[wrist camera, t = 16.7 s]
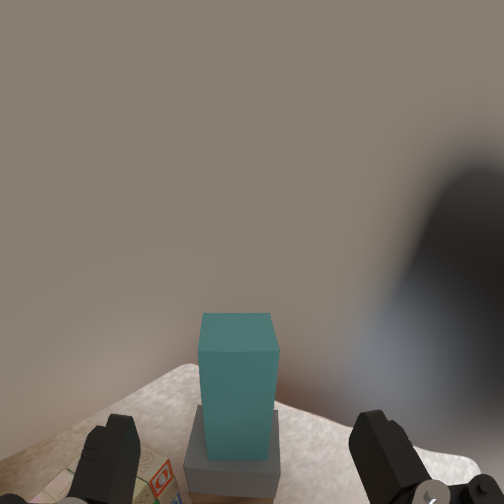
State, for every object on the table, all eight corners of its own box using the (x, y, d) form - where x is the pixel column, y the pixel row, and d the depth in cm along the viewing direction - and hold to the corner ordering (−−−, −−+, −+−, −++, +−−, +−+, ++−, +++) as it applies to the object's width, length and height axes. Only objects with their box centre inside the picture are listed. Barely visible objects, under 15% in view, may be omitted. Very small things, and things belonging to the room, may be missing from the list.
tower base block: (194, 511, 24) (188, 492, 22) (201, 458, 31) (198, 434, 30) (270, 514, 24) (274, 496, 22) (267, 461, 31) (270, 438, 30)
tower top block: (189, 491, 22) (183, 466, 21) (201, 434, 30) (197, 405, 28) (275, 497, 22) (280, 473, 21) (273, 439, 30) (277, 410, 28)
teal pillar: (208, 460, 22) (197, 351, 18) (209, 420, 26) (203, 313, 23) (267, 459, 22) (279, 350, 19) (261, 419, 27) (269, 313, 23)
